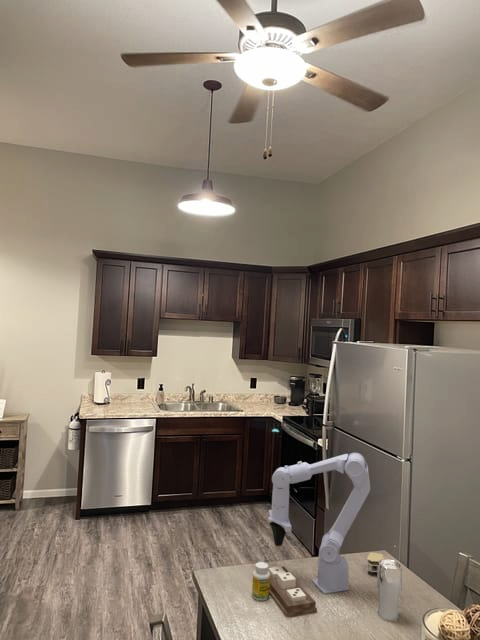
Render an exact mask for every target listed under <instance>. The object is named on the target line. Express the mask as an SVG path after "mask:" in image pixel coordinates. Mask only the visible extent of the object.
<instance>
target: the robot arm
mask: <svg viewBox="0 0 480 640" xmlns="http://www.w3.org/2000/svg"><path fill="white" fill-rule="evenodd" d="M330 471H337V472H339V473H341V474H344V473H346V475H347V477H348V478H349V479H350V480H351V483H352V484H353V489H352V490H351V492H350V494H349V496H348V498H347V499H346V501H345V504H344V505H343V507H342V509H341V511H340V513H339V514H338V517H337V518H336V520H335V522H334V523H333V525H332V526H331V528H330V529H329V531H328V532H326V533H325V534H324V535H323V536H322V539H321V542H320V543H321V544H320V547H319V549H318V561H317V562H318V563H317V564H318V565H317V578H316V579H312V580H311V581H312V583H313V584H314V585H315V586H316V587H317V588H318V589H319V591H321V592H322V593H323V594H330V593H337V592H342V591H343V592H344V591H350V587H349V571H350V570H349V564H348V561H347V559H346V558H345V557H344V556H340V550H341V547H342V545H343V543H344V542H343V541H344V540H345V536H347V533H348V532H349V530H350V528H351V526H352V525H353V523H354V521H355V519H356V517H357V515H358V514H359V512H360V510H361V508H362V506H363V504H364V502H365V501H366V499H367V497H368V495H369V493H370V492H371V482H370V475H369V466H368V463H367V461H366V459H365V457H364V456H363V454H361V453H358V452H352V453H343V454H341V455H337V456H334V457H330V458H327V459H324V460H320V461H317V462H314V463H310V464H309V463H308V462H306V461H304V462H302V460H300V461H297V463H296V464H293V465H284V467H283V466H280V467H278V468H276V470H275V471H274V472H273V474H272V476H271V482H272V492H271V493H272V495H271V509H269V510H268V517H267V519H268V521H269V526H270V528H271V531H272V535H273V541H274V545H275V546H276V547H282V546H283V543H284V540H285V536H286V534H287V533H289V532H290V533H291V532H292V527H293V526H292V524H291V521H290V518H289V511H290V508H289V507H290V506H289V505H290V484H291V485H292V484H297V483H300V482H305V481H308V480H311V478H312V476H313V475H316V474H321V473H326V472H330Z"/></svg>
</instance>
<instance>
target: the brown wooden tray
mask: <svg viewBox="0 0 480 640" xmlns="http://www.w3.org/2000/svg"><path fill="white" fill-rule="evenodd" d="M281 568H282V569H283V570H284V571H285V572H286V573H287V572H290V571H289V570H288V569H287V568H286V566H281ZM296 588H300V589H301V590H302V591H303V593H304V594H305V595H306V600H305V601H299V602H291V600H290V599H289V598H288V597H287V595H286V590H289V589H286V590H282V589H281V588H280V587H279V586H278V584H277V578H274V579H273V578H272V577H271V576H270V588H269V597H270V598H271V599H272V600H273V601H274V604H276V606H277V607H278V608H279V610H280V611H281V612H282V613H283V615H284V616H285V618H288V617H289V618H290V617H295V616H302V615H307V614H314V613H318V608H317V606H316V604H317V603H316V600H315V599H314V598H313V597H312V596H311V595H310V594H309V592H308V591H307V590H306V589H305V588H304V587H303V585H301V584H300V582H299V581H298V580H297V579H296V586H295V588H292V589H296Z"/></svg>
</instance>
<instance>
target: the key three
mask: <svg viewBox="0 0 480 640" xmlns="http://www.w3.org/2000/svg"><path fill="white" fill-rule="evenodd" d="M286 595H287V597H288V598H289V599H290V600H291V602H299V601H305V600H306V595H305V594H304V593H303V591H302V590H301V589H300V588H296V589H289V590H286Z"/></svg>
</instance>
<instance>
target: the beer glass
mask: <svg viewBox="0 0 480 640" xmlns="http://www.w3.org/2000/svg"><path fill="white" fill-rule="evenodd" d="M402 567H403V566H402V564H401V563H400V562H399V561H397V560H394V559H391V558H384V559H381V560H379V565H378V575H377V574H376V576H377V577H376V578H377V581H376V583H377V589H378V596H379V597H378V598H379V603H378V608H377V615H378V617H379V618H380V617H381V618H380V619H383V620H384V619H385V620H384V621H386V620H388V622H392V621H393V622H396V621H395V620H397V621H398V620H399V619H400V613H399V612H400V611H399V602H400V601H399V600H400V596H401V591H402V586H403V585H402V584H403V569H402Z"/></svg>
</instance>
